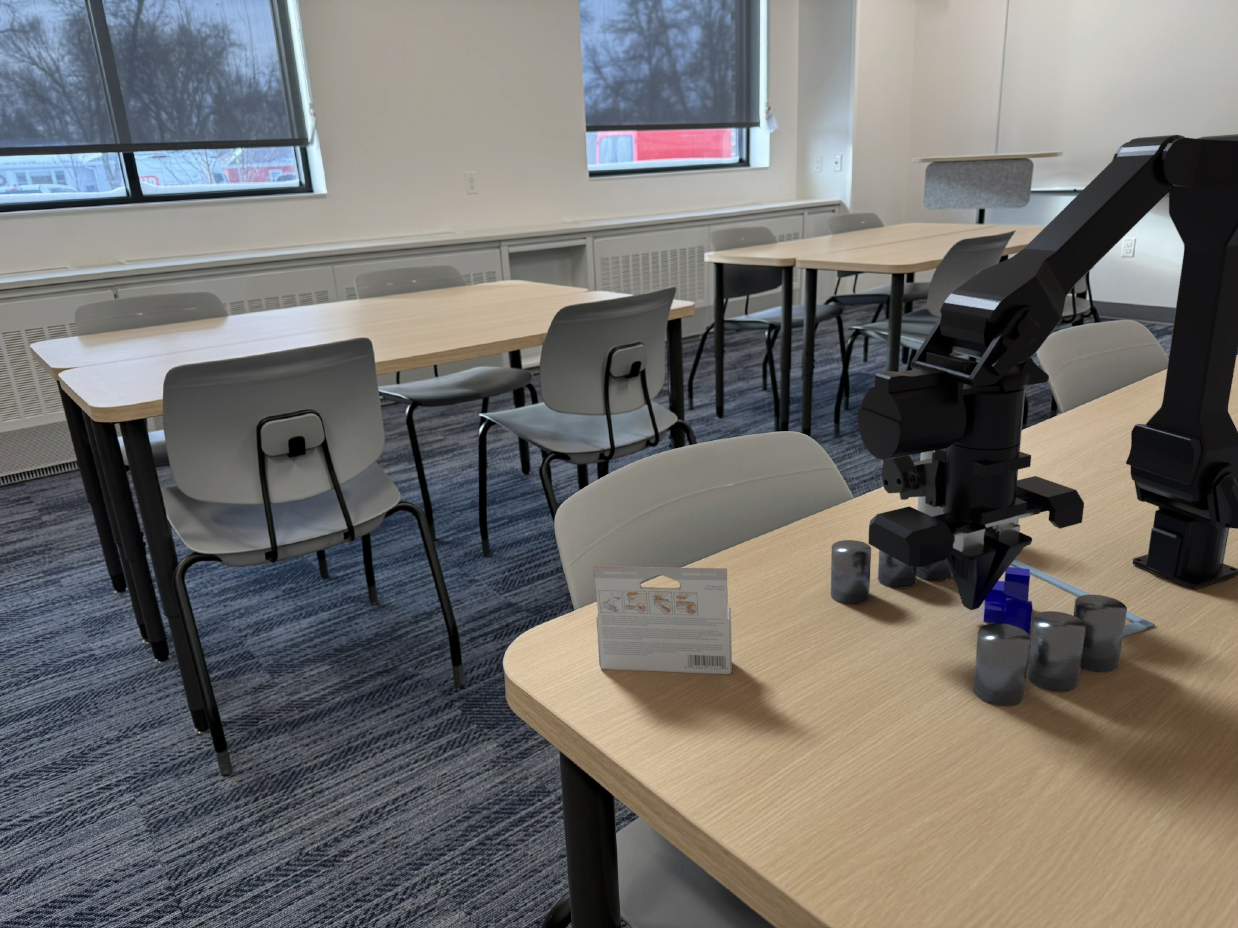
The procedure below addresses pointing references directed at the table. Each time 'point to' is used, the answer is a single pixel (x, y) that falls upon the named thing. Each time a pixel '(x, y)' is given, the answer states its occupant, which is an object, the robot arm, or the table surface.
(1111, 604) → the spacers
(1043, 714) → the table surface
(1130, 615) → the taped bay
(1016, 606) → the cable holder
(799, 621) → the table surface
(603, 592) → the ink cartridge box
